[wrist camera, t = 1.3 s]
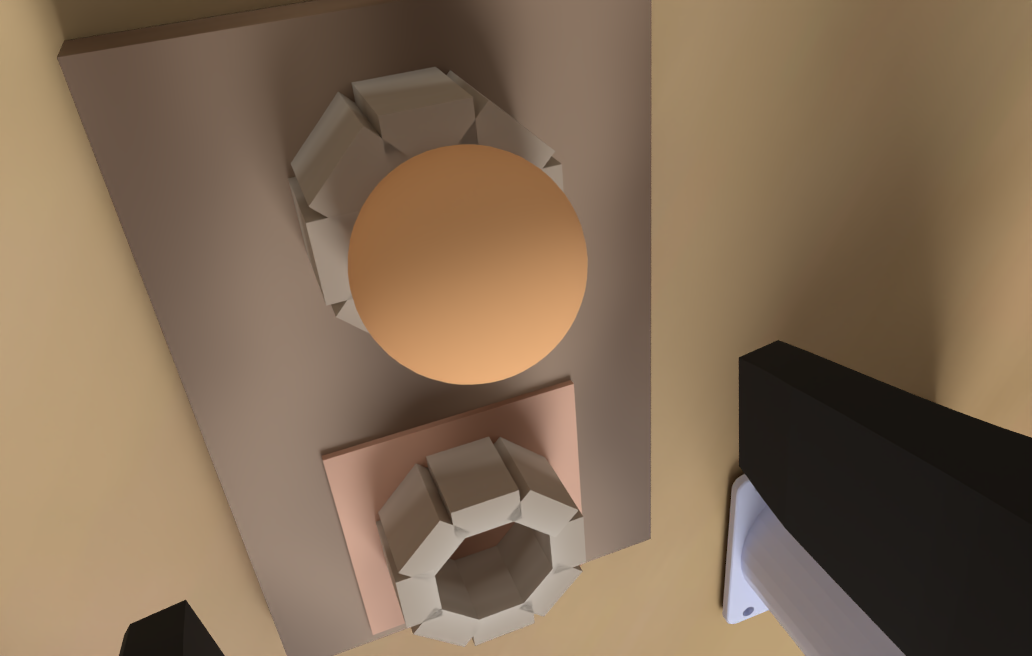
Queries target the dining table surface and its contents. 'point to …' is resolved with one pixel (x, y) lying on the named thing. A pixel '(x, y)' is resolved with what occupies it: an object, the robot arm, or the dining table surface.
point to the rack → (332, 313)
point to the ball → (467, 264)
